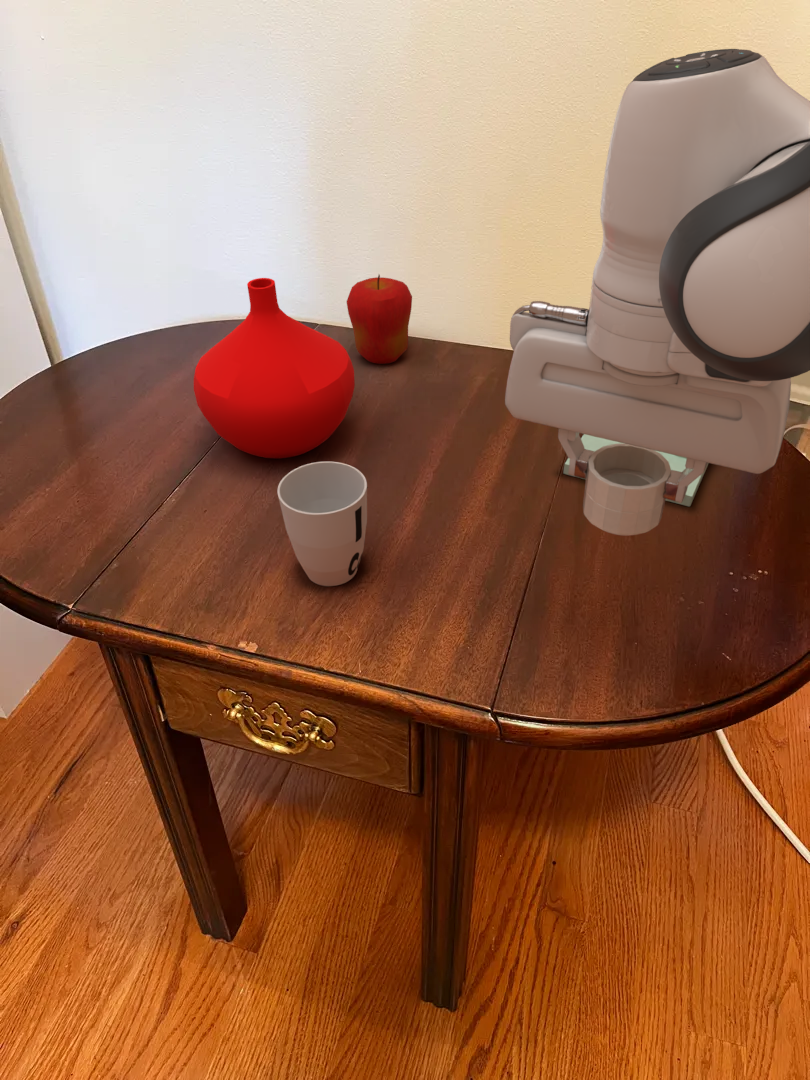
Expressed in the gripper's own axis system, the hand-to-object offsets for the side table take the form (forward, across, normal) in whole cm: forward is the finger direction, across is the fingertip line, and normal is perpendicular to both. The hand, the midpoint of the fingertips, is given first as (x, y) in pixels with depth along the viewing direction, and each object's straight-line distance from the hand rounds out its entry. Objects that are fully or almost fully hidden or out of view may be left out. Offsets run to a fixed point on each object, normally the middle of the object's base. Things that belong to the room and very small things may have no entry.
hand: (626, 484), depth 66 cm
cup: (+15, -26, -5) cm, 31 cm away
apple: (+15, -43, +36) cm, 58 cm away
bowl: (+3, 0, 0) cm, 3 cm away
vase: (+15, -44, +13) cm, 48 cm away
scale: (+15, -4, +26) cm, 30 cm away
